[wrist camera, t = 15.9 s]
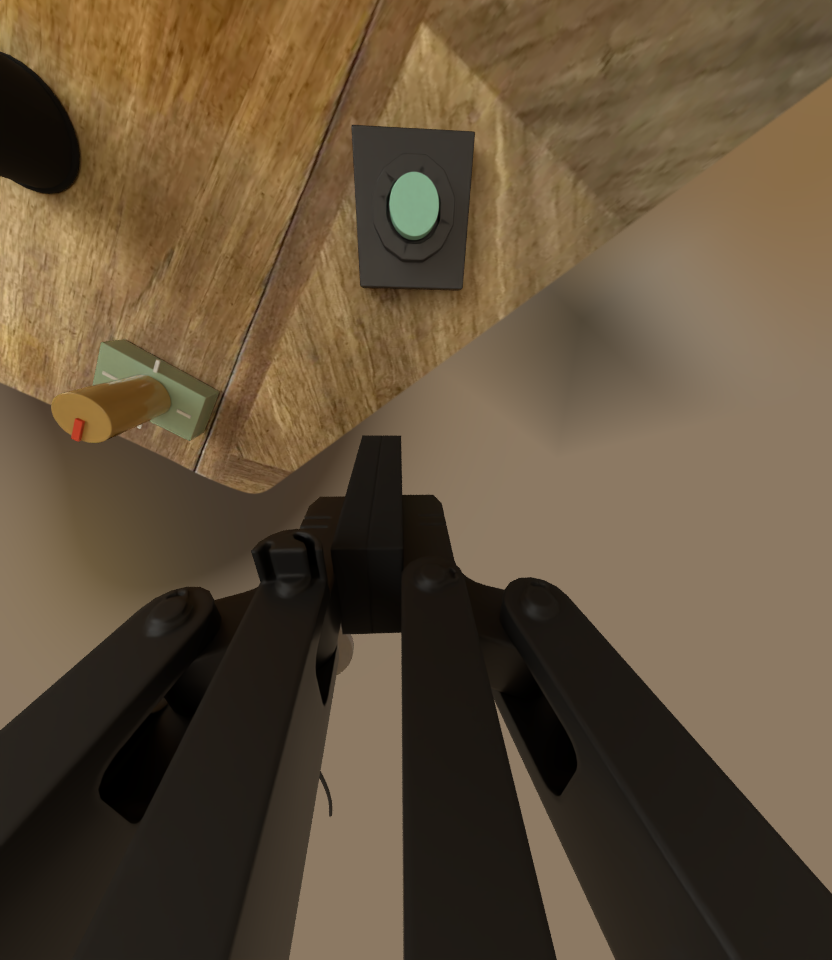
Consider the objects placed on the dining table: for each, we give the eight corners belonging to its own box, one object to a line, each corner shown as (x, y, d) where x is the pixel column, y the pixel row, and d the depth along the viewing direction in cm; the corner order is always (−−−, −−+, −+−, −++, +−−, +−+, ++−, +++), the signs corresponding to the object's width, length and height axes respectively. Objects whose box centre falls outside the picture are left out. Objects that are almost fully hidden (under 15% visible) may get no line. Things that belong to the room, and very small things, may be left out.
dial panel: (223, 381, 36) (208, 388, 33) (201, 440, 39) (185, 450, 36) (127, 327, 33) (101, 329, 30) (111, 396, 36) (87, 403, 33)
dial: (130, 365, 32) (50, 382, 24) (176, 389, 33) (113, 412, 26) (121, 401, 33) (43, 427, 26) (165, 423, 35) (103, 453, 27)
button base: (458, 290, 33) (466, 288, 29) (362, 287, 32) (358, 285, 28) (469, 143, 27) (480, 119, 24) (354, 137, 27) (348, 111, 23)
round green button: (435, 241, 28) (437, 237, 26) (390, 239, 27) (389, 235, 26) (438, 180, 26) (440, 172, 24) (389, 178, 25) (388, 169, 24)
